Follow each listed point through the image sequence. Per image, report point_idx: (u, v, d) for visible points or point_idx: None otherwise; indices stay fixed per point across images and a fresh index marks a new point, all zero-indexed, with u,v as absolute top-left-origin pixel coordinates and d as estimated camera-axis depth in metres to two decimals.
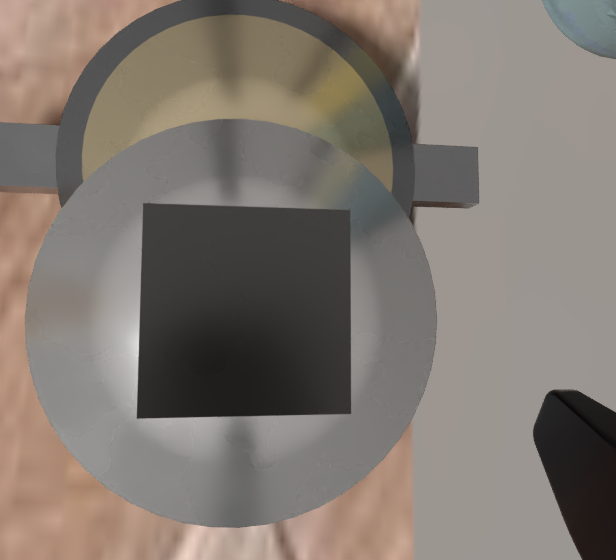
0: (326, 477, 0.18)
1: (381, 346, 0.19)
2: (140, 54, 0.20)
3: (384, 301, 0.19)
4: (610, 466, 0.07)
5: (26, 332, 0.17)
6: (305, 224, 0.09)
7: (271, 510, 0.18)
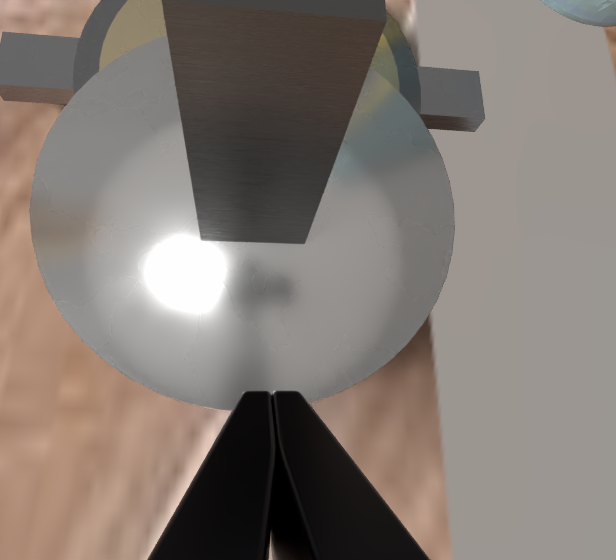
0: (347, 360, 0.17)
1: (399, 230, 0.18)
2: None
3: (399, 188, 0.19)
4: (277, 474, 0.06)
5: (31, 201, 0.17)
6: None
7: None
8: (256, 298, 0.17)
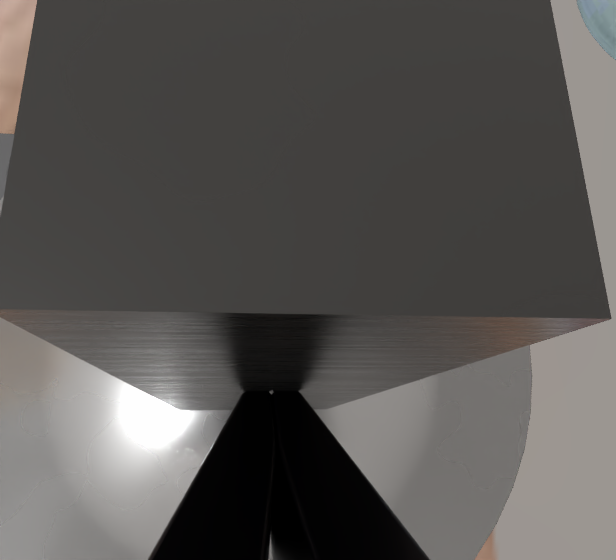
0: None
1: (457, 381, 0.13)
2: None
3: None
4: (277, 475, 0.06)
5: None
6: None
7: None
8: None
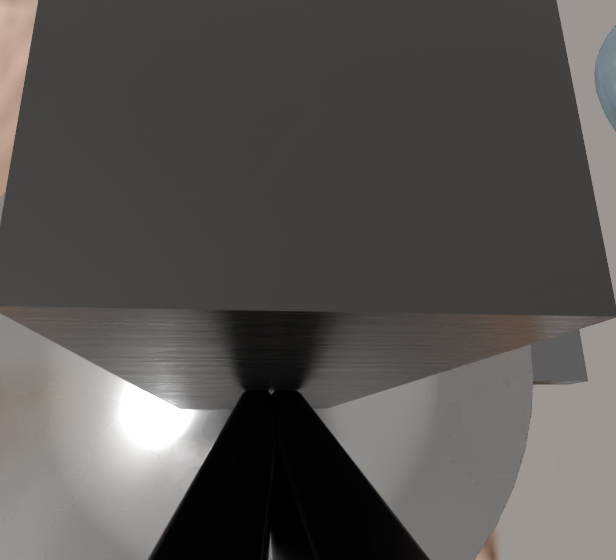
0: None
1: (458, 381, 0.13)
2: None
3: None
4: (277, 474, 0.06)
5: None
6: None
7: None
8: None
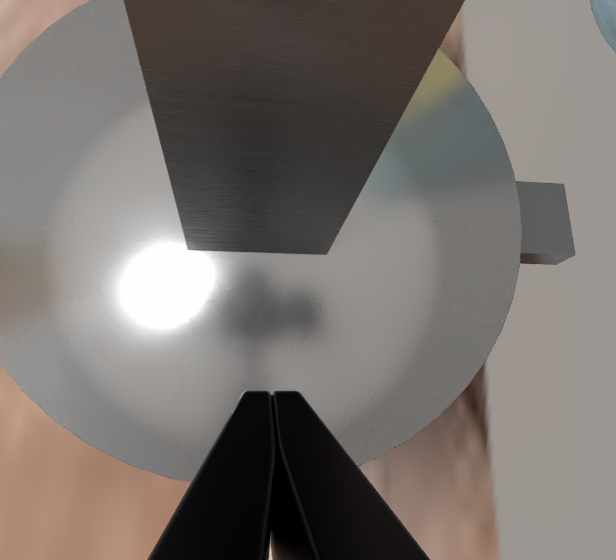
0: (384, 413, 0.12)
1: (450, 236, 0.14)
2: None
3: (449, 180, 0.14)
4: (276, 474, 0.06)
5: None
6: None
7: None
8: (262, 329, 0.13)
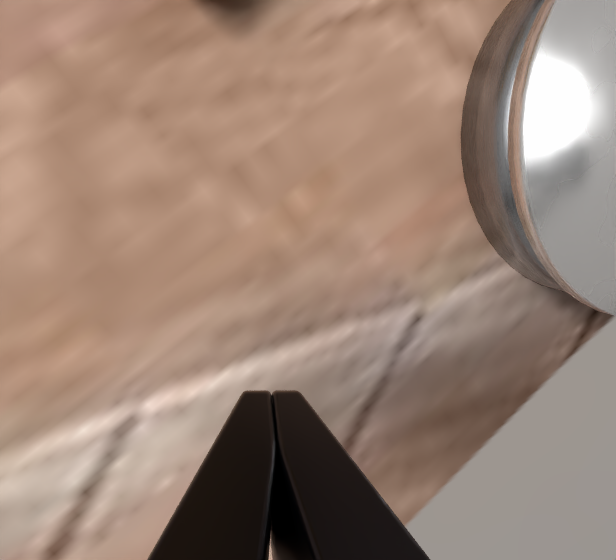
0: None
1: None
2: None
3: None
4: (277, 475, 0.06)
5: None
6: None
7: (578, 273, 0.18)
8: None
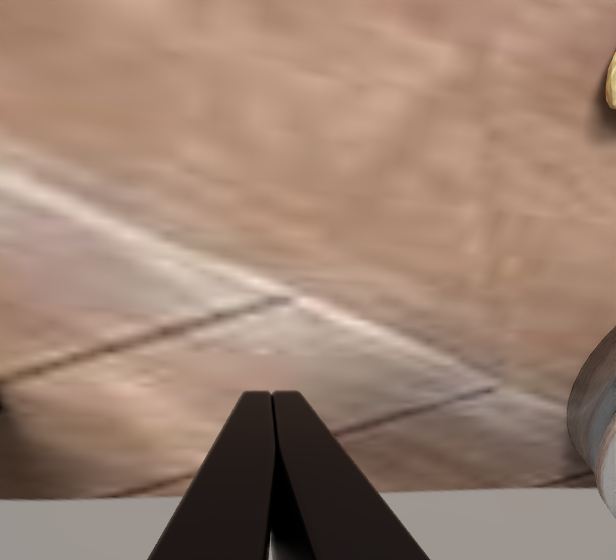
0: None
1: None
2: None
3: None
4: (277, 474, 0.06)
5: None
6: None
7: None
8: None
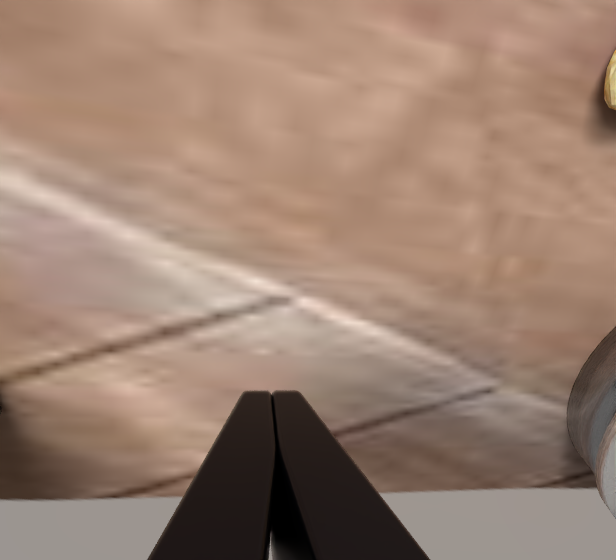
0: None
1: None
2: None
3: None
4: (277, 474, 0.06)
5: None
6: None
7: None
8: None
